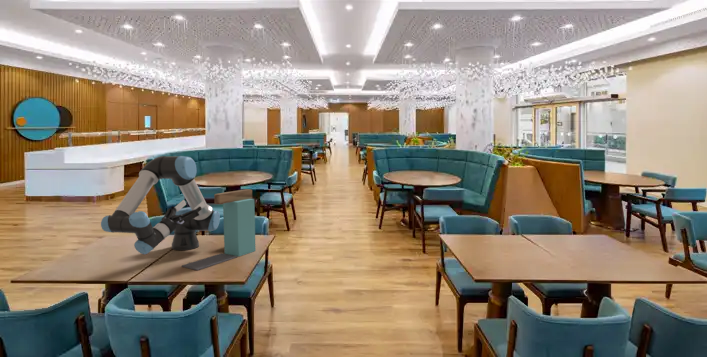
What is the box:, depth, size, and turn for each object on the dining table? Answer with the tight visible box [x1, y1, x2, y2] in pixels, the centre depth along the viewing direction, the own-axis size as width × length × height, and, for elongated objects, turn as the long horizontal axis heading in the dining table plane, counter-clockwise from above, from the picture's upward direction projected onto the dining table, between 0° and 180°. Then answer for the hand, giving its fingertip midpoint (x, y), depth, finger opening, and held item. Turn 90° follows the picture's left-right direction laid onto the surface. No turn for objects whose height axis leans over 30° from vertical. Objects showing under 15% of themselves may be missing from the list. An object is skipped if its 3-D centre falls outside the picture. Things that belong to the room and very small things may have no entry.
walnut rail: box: [213, 188, 253, 205], centre depth 243 cm, size 4×24×5 cm, turn 149°
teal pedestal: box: [222, 198, 257, 257], centre depth 248 cm, size 11×13×30 cm
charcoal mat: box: [181, 252, 238, 271], centre depth 231 cm, size 12×26×1 cm, turn 149°
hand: (194, 202), depth 227 cm, fingers open, 13 cm apart
